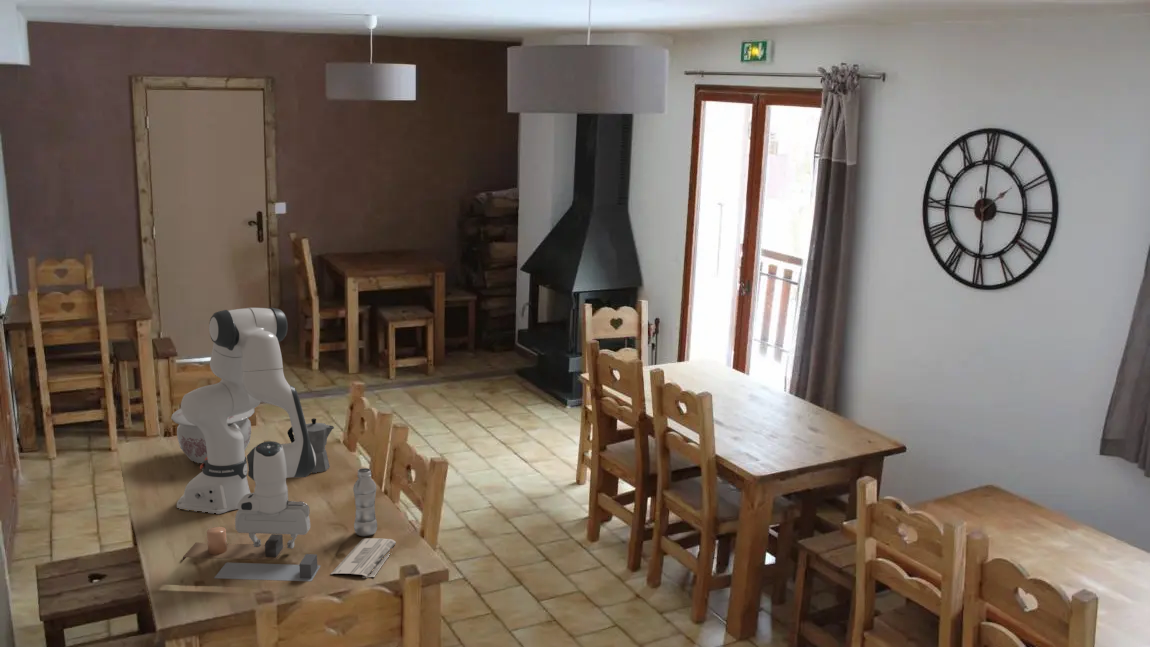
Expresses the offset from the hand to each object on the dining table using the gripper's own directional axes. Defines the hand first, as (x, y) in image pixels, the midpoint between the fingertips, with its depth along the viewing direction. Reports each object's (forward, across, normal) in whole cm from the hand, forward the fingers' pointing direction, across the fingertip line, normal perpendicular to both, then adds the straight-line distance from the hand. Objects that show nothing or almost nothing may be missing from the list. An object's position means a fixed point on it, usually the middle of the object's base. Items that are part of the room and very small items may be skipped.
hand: (274, 546), depth 285 cm
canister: (+2, +16, 0) cm, 16 cm away
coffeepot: (+3, +8, -66) cm, 67 cm away
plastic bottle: (+3, -22, -16) cm, 27 cm away
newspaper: (+4, -26, 0) cm, 26 cm away
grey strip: (+3, -2, +12) cm, 12 cm away
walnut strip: (+3, +11, 0) cm, 11 cm away
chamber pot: (+3, +44, -73) cm, 85 cm away
